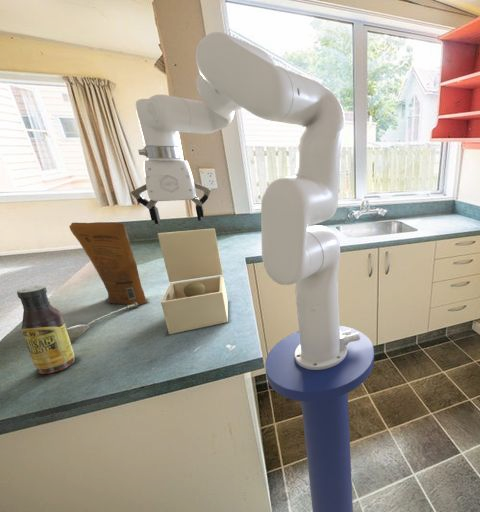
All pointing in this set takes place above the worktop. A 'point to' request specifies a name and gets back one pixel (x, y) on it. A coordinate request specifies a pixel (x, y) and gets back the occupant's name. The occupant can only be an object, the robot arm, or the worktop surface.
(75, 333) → the soupspoon
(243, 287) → the worktop surface
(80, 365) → the worktop surface
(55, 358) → the sauce bottle
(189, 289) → the cork
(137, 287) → the pancake mix bag
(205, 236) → the lid
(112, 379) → the worktop surface
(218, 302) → the cream open box
